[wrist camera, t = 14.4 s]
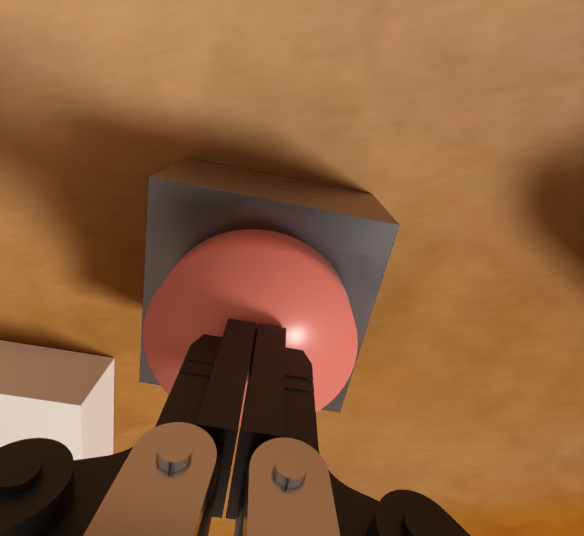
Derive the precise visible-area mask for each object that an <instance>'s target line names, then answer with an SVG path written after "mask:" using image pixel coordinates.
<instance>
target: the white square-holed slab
mask: <svg viewBox="0 0 584 536" xmlns="http://www.w3.org/2000/svg"><path fill="white" fill-rule="evenodd" d="M113 429H114V358H112V357H105V356H99V355H93V354H86V353H80V352H73V351H67V350H60V349H54V348H48V347H41V346H35V345H28V344H22V343H16V342H9V341H3V340H0V447H2V446H4V445H7V444H9V443H12V442H15V441H19V440H24V439H29V438H48V439H53V440H56V441H59V442H61V443H62V444H64V445H65V446H66V447H67V448H68V449H69V450H70V452H71V453H72V456H73V460H80V459H87V458H94V457H101V456H107V455H112V454H113Z"/></svg>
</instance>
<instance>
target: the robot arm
mask: <svg viewBox="0 0 584 536" xmlns="http://www.w3.org/2000/svg"><path fill="white" fill-rule="evenodd" d="M255 326H256V323H254V322H248V321H242V320H236V319H230V318H228V321H227V324H226V327H225V331H224V334H223V337H219V336H212V335H206V334H203V335H202V336H201V337H200V338H198V339H197V340H196V341H195V342H193V343H192V344H191V345H190V347H189V349H188V352H187V354H186V356H185V359H184V362H183V363H182V366H181V368H180V370H179V374H178V375H177V377H176V380H175V382H174V384H173V387H172V389H171V392H170V394H169V396H168V399H167V401H166V403H165V406H164V408H163V410H162V413H161V415H160V417H159V420H158V422H157V424H156V426H155V427H154V428H153V429H151V430H149V431H147V432H146V433H145V434H144V435H142V436H141V437H140V438H139V440H138V441H137V442H136V444H135V445H134V447H132V448H130V449H128V450H125V451H123V452H120V453H117V454H112V455H107V456H101V457H94V458H87V459H80V460H73V456H72V453H71V452H70V450H69V449H68V448H67V447H66V446H65V445H64V444H62V443H61V442H59V441H56V440H53V439H48V438H29V439H24V440H19V441H15V442H12V443H9V444H7V445H4V446H2V447H0V536H208V533H209V528H210V523H211V518H212V517H219V518H222V514H223V509H224V503H225V498H226V492H227V487H228V482H229V476H230V471H231V465H232V460H233V454H234V449H235V443H236V438H237V433H238V427H239V421H240V415H241V409H242V403H243V397H244V391H245V385H246V379H247V373H248V368H249V362H250V356H251V350H252V344H253V338H254V332H255ZM226 518H229V519H236V524H235V531H234V536H470V535H469V534H468V533H467V532H466V531H465V530H464V529H463V528H462V527H461V526H460V525H459V524H458V523H457V522H456V521H455V520H454V519H453V518H452V517H451V516H450V515H449V514H448V513H447V512H446V511H445V510H444V509H442V508H441V507H440V506H439V505H438V504H437V503H435V502H434V501H432V500H431V499H430V498H428V497H426V496H424V495H422V494H420V493H417V492H414V491H410V490H395V491H392V492H389V493H388V494H386V495H385V496H384V497H383V498H382V499H381V500H380V502H379V501H377V500H375V499H373V498H371V497H368V496H366V495H364V494H362V493H360V492H358V491H355V490H353V489H351V488H349V487H348V486H346V485H344V484H343V483H341V482H340V481H339V480H338V479H337V478H335V477H334V476H333V475H332V474H331V473H330V471H329V470H328V467H327V465H326V463H325V461H324V460H323V458H322V457H321V455H320V453H319V448H318V437H317V424H316V411H315V397H314V384H313V370H312V363H311V362H310V360H309V359H308V357H307V356H306V354H305V352H304V351H303V350H299V349H293V348H287V347H286V328H285V327H279V326H273V325H267V324H261V323H259V324H258V329H257V334H256V340H255V345H254V351H253V356H252V361H251V367H250V372H249V378H248V383H247V389H246V395H245V401H244V407H243V414H242V420H241V426H240V432H239V438H238V444H237V450H236V457H235V463H234V469H233V475H232V481H231V487H230V493H229V500H228V506H227V512H226Z"/></svg>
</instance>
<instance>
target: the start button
mask: <svg viewBox="0 0 584 536" xmlns="http://www.w3.org/2000/svg"><path fill="white" fill-rule="evenodd" d="M228 318H230V319H236V320H242V321H248V322H254V323H256V326H255V332H254V338H253V344H252V350H251V356H250V362H249V368H248V373H247V379H246V385H245V391H244V397H243V403H242V409H241V415H240V421H239V427H238V428H240V426H241V420H242V414H243V407H244V401H245V395H246V389H247V383H248V378H249V372H250V367H251V361H252V356H253V351H254V345H255V340H256V334H257V329H258V324H259V323H261V324H267V325H273V326H279V327H285V328H286V347H287V348H293V349H299V350H303V351H304V352H305V354H306V356H307V357H308V359H309V360H310V362H311V363H312V370H313V384H314V397H315V411H316V412H318V411H319V410H321V409H322V408H323V407H325V406H326V405H327V404H329V403H330V402H331V401H332V400H333V399H334V398H335V397H336V396H337V395H338V394H339V392H340V391H341V390H342V388H343V387H344V386H345V384H346V382H347V381H348V379H349V377H350V375H351V373H352V370H353V368H354V365H355V361H356V356H357V347H358V338H357V329H356V325H355V321H354V317H353V313H352V310H351V306H350V303H349V299H348V296H347V292H346V290H345V287H344V285H343V282H342V280H341V279H340V277H339V275H338V274H337V272H336V270H335V269H334V268H333V267H332V265H331V264H330V263H329V262H328V261H327V260H326V259H325V258H324V257H323V256H322V255H321V254H320V253H319V252H317V251H316V250H315V249H313V248H312V247H310V246H309V245H307V244H305V243H304V242H302V241H300V240H298V239H296V238H293V237H291V236H288V235H286V234H282V233H278V232H274V231H268V230H260V229H244V230H236V231H230V232H226V233H223V234H219V235H216V236H214V237H211V238H209V239H207V240H205V241H203V242H201V243H200V244H198V245H196V246H195V247H194V248H192V249H191V250H190V251H189V252H187V253H186V254H185V255H184V256H183V257H182V258H181V259H180V260H179V261H178V263H177V264H176V265H175V267H174V268H173V269H172V271H171V272H170V274H169V275H168V276H167V278H166V279H165V280H164V282H163V283H162V285H161V286H160V287H159V289H158V290H157V292H156V293H155V295H154V296H153V298H152V300H151V302H150V304H149V306H148V309H147V312H146V316H145V319H144V327H143V344H144V350H145V355H146V358H147V361H148V364H149V366H150V368H151V370H152V372H153V374H154V376H155V378H156V379H157V381H158V382H159V383H160V385H161V386H162V387H163V389H164V390H165V391H166V392H167V393H168V394H170V392H171V389H172V387H173V384H174V382H175V380H176V377H177V375H178V374H179V370H180V368H181V366H182V363H183V362H184V359H185V356H186V354H187V352H188V349H189V347H190V345H191V344H192V343H193V342H195V341H196V340H197V339H198V338H200V337H201V336H202V335H203V334H206V335H212V336H219V337H223V334H224V331H225V327H226V324H227V321H228Z"/></svg>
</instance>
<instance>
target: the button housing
mask: <svg viewBox="0 0 584 536" xmlns="http://www.w3.org/2000/svg"><path fill="white" fill-rule="evenodd" d="M398 228H399V224H398V223H397V222H396V220H395V219H394V218H393V217H392V216H391V215H390V214H389V212H388V211H387V210H386V209H385V208H384V207H383V206H382V204H381V203H380V202H379V201H378V200H377V199H376V198H375V197H374V195H373V194H370V193H365V192H360V191H354V190H349V189H344V188H339V187H334V186H329V185H324V184H319V183H314V182H309V181H304V180H298V179H293V178H288V177H283V176H278V175H273V174H268V173H263V172H258V171H253V170H248V169H243V168H237V167H232V166H227V165H222V164H217V163H212V162H207V161H202V160H197V159H192V158H185V159H183V160H181V161H179V162H177V163H175V164H173V165H171V166H169V167H167V168H165V169H163V170H161V171H159V172H157V173H155V174H153V175H151V176H149V180H148V202H147V224H146V246H145V269H144V291H143V313H142V335H141V357H140V379H139V382H143V383H150V384H156V385H160V383H159V382H158V381H157V379H156V378H155V376H154V374H153V372H152V370H151V368H150V366H149V364H148V361H147V358H146V355H145V350H144V344H143V327H144V319H145V316H146V312H147V309H148V306H149V304H150V302H151V300H152V298H153V296H154V295H155V293H156V292H157V290H158V289H159V287H160V286H161V285H162V283H163V282H164V280H165V279H166V278H167V276H168V275H169V274H170V272H171V271H172V269H173V268H174V267H175V265H176V264H177V263H178V261H179V260H180V259H181V258H182V257H183V256H184V255H185V254H186V253H187V252H189V251H190V250H191V249H192V248H194V247H195V246H196V245H198V244H200V243H201V242H203V241H205V240H207V239H209V238H211V237H214V236H216V235H219V234H223V233H226V232H230V231H236V230H244V229H260V230H268V231H274V232H278V233H282V234H286V235H288V236H291V237H293V238H296V239H298V240H300V241H302V242H304V243H305V244H307V245H309V246H310V247H312V248H313V249H315V250H316V251H317V252H319V253H320V254H321V255H322V256H323V257H324V258H325V259H326V260H327V261H328V262H329V263H330V264H331V265H332V267H333V268H334V269H335V270H336V272H337V274H338V275H339V277H340V279H341V280H342V282H343V285H344V287H345V290H346V292H347V296H348V299H349V303H350V306H351V310H352V313H353V317H354V321H355V325H356V329H357V338H358V347H357V356H356V360H357V357H358V354H359V351H360V348H361V345H362V341H363V338H364V335H365V332H366V329H367V326H368V322H369V319H370V316H371V313H372V310H373V307H374V304H375V300H376V297H377V294H378V291H379V288H380V285H381V281H382V278H383V275H384V272H385V269H386V266H387V262H388V259H389V256H390V253H391V250H392V247H393V244H394V240H395V237H396V234H397V231H398ZM355 363H356V361H355ZM354 367H355V365H354ZM353 370H354V368H353ZM353 370H352V373H353ZM352 373H351V375H350V377H349V379H348V381H347V382H346V384H345V386H344V387H343V388H342V390H341V391H340V392H339V394H338V395H337V396H336V397H335V398H334V399H333V400H332V401H331V402H330V403H329V404H327V405H326V406H325V407H323V408H322V409H321V410H327V411H334V412H340V411H341V408H342V405H343V401H344V398H345V395H346V392H347V389H348V386H349V382H350V379H351V376H352Z"/></svg>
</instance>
